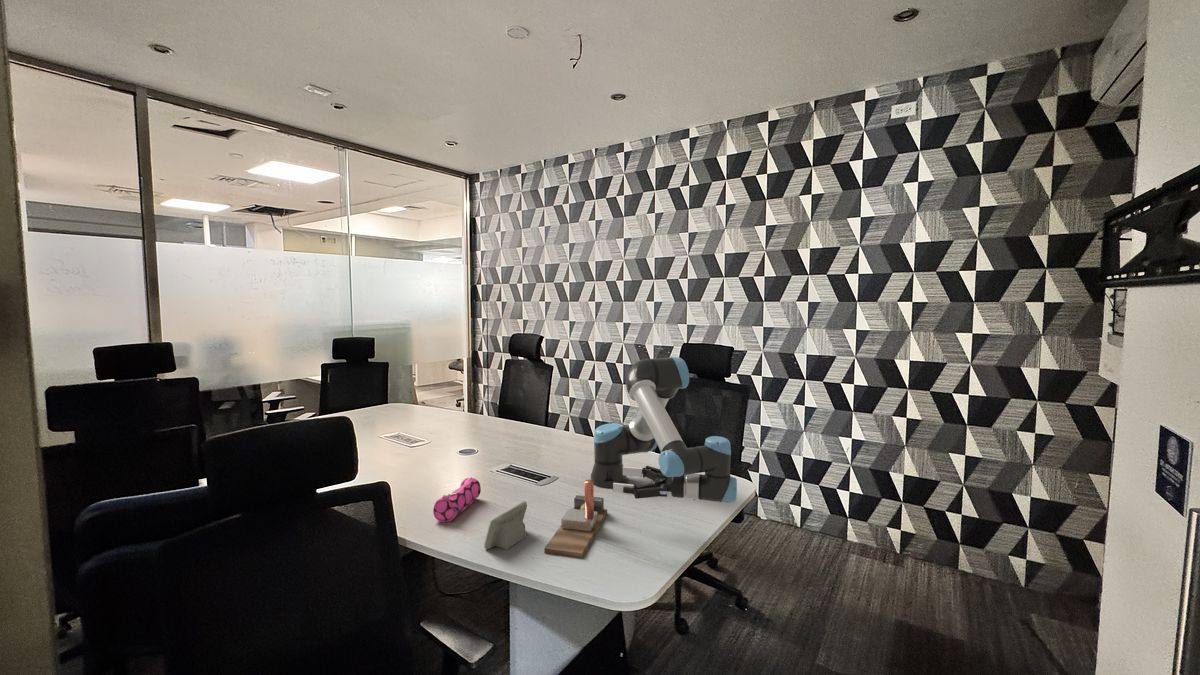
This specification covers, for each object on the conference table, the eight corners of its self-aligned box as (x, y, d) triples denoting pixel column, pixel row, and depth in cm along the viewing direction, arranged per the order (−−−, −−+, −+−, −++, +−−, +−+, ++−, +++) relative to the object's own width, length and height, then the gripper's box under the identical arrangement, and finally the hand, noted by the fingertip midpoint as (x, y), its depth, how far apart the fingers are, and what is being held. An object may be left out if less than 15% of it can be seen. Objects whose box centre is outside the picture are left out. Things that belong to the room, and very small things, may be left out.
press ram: (590, 531, 154) (589, 486, 152) (561, 528, 156) (560, 483, 155) (597, 520, 161) (596, 477, 160) (569, 516, 164) (568, 474, 163)
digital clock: (519, 527, 161) (518, 496, 160) (536, 535, 155) (535, 504, 154) (477, 546, 149) (476, 513, 149) (494, 556, 143) (493, 522, 142)
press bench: (582, 558, 141) (581, 538, 141) (544, 552, 145) (543, 534, 144) (607, 513, 170) (607, 496, 170) (575, 509, 173) (575, 493, 173)
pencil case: (458, 525, 163) (457, 497, 162) (432, 523, 165) (430, 495, 164) (484, 499, 184) (483, 474, 183) (460, 497, 186) (459, 472, 185)
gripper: (680, 515, 136) (608, 507, 142) (688, 481, 160) (626, 475, 165) (681, 490, 135) (608, 483, 141) (688, 459, 159) (626, 454, 165)
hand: (618, 478), depth 153 cm, fingers open, 13 cm apart
